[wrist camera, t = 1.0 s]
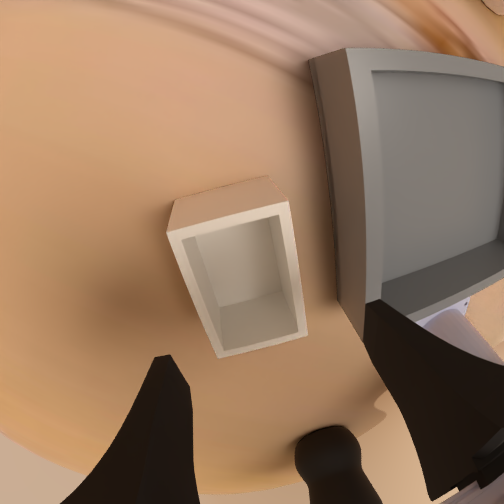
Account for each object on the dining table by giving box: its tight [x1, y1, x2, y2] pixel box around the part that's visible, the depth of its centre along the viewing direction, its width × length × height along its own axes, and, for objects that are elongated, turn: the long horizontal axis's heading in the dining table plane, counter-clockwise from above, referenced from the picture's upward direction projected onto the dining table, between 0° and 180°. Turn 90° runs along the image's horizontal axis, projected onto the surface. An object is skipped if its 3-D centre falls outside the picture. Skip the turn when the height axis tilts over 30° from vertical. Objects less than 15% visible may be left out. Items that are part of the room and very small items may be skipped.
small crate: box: [166, 176, 308, 359], centre depth 16 cm, size 8×5×4 cm, turn 12°
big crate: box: [308, 48, 504, 342], centre depth 15 cm, size 16×18×4 cm
